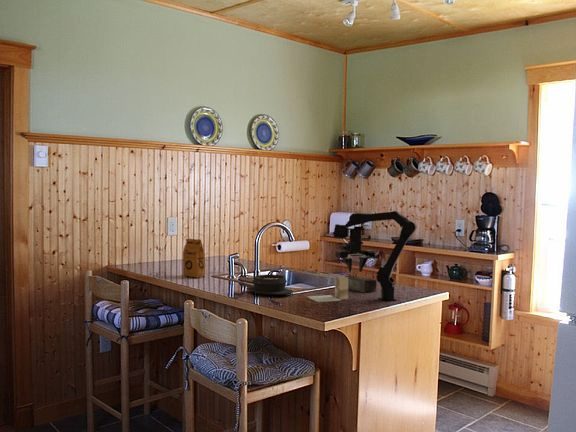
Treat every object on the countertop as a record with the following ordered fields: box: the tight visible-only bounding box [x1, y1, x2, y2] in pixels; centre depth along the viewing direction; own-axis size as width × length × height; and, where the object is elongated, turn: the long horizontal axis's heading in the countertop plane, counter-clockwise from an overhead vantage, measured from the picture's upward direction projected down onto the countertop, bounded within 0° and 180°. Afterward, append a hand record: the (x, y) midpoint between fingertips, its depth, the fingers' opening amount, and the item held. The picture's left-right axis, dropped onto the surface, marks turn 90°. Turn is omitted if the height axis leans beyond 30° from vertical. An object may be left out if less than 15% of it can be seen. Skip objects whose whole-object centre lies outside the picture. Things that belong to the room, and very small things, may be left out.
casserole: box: [245, 274, 294, 297], centre depth 270 cm, size 25×19×8 cm
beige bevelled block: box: [334, 275, 349, 300], centre depth 262 cm, size 6×4×10 cm, turn 21°
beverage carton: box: [344, 274, 378, 294], centre depth 285 cm, size 8×19×7 cm, turn 32°
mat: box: [306, 294, 342, 303], centre depth 259 cm, size 12×12×1 cm
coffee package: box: [182, 238, 206, 278], centre depth 317 cm, size 10×12×22 cm
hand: (355, 272), depth 264 cm, fingers open, 5 cm apart
